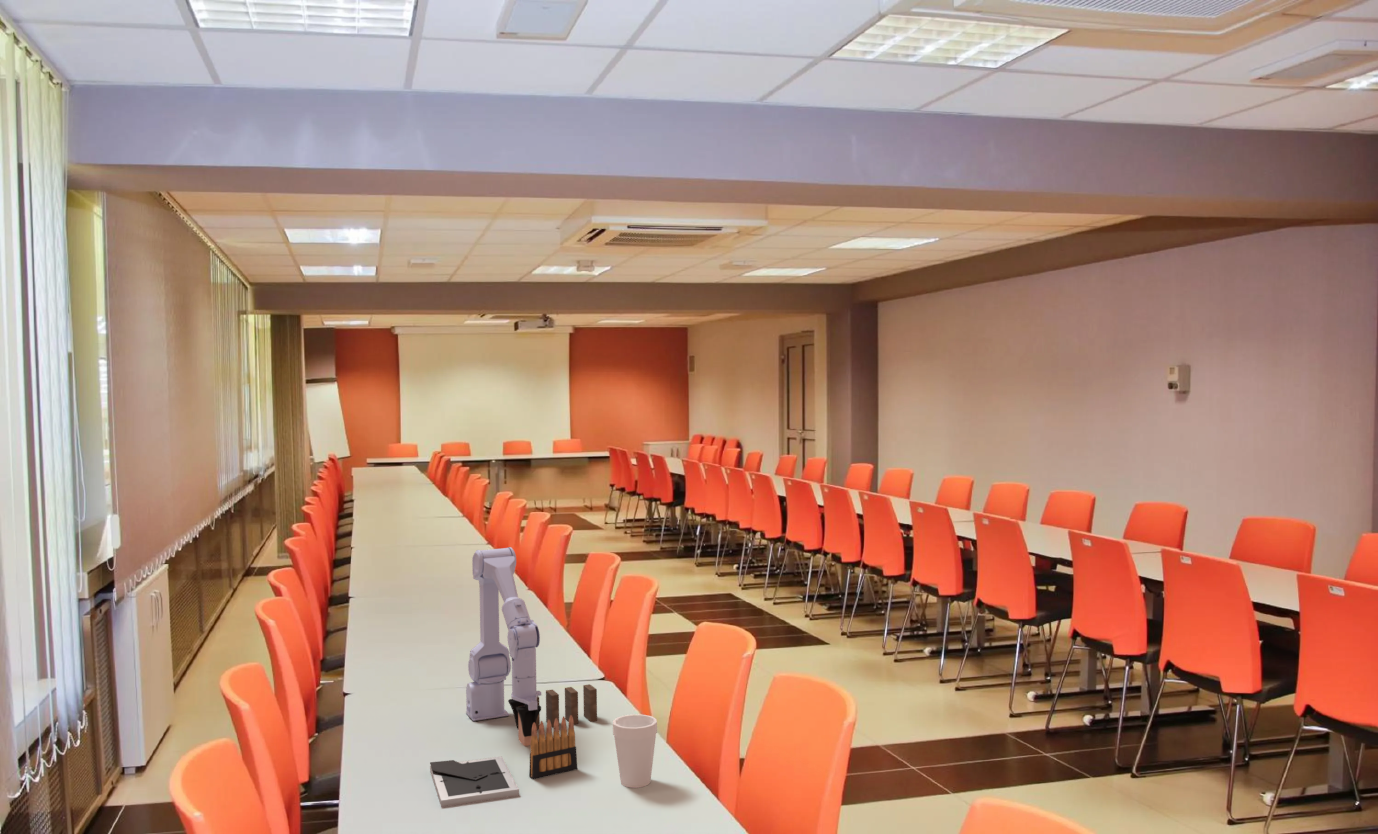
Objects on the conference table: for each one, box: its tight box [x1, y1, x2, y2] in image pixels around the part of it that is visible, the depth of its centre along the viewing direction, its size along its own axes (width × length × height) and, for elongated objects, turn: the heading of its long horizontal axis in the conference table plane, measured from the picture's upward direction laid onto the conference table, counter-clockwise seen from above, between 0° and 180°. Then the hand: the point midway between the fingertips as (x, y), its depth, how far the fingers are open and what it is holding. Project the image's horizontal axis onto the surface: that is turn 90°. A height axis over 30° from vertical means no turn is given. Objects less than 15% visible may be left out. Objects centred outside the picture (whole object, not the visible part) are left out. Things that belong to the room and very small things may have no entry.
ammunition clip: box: [528, 715, 578, 780], centre depth 224 cm, size 11×2×12 cm, turn 123°
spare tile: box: [517, 706, 531, 747], centre depth 244 cm, size 2×5×8 cm, turn 25°
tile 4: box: [564, 686, 579, 725], centre depth 260 cm, size 2×5×8 cm, turn 25°
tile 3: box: [545, 689, 560, 729], centre depth 258 cm, size 2×5×8 cm, turn 25°
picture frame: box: [429, 756, 520, 808], centre depth 219 cm, size 16×3×21 cm
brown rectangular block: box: [535, 696, 541, 731], centre depth 255 cm, size 2×5×8 cm, turn 25°
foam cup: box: [612, 713, 658, 789], centre depth 219 cm, size 10×9×13 cm
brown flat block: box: [582, 684, 598, 723], centre depth 262 cm, size 2×5×8 cm, turn 25°
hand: (524, 732), depth 244 cm, fingers closed on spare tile, 5 cm apart
